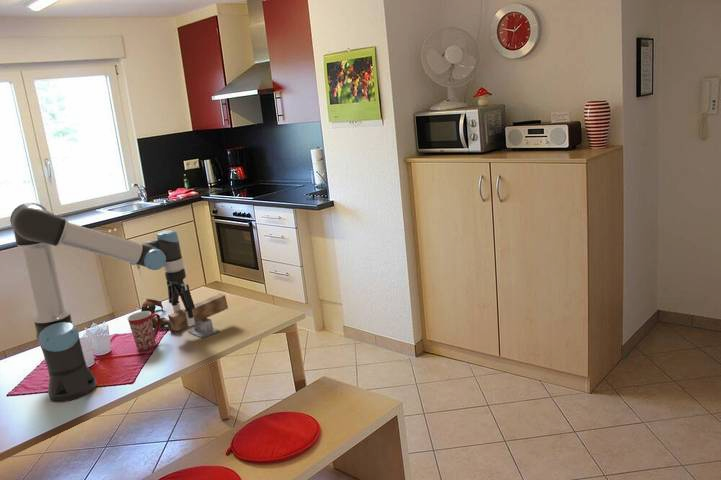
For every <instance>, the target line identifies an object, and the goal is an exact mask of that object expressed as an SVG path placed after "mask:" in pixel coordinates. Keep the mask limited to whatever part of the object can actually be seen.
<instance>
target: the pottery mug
mask: <svg viewBox="0 0 721 480" xmlns="http://www.w3.org/2000/svg"><path fill="white" fill-rule="evenodd" d="M162 302H163V301H160V300H157V299H151V298H146V300H145V301H144V302H143V303H142V304H141V310H140V312H142V311H149V312H151V315H152V314H154V313H155V310H156V308H157V307H160V308H161V311H163V310H164V306H163V304H162Z"/></svg>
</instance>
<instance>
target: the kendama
mask: <svg viewBox="0 0 721 480" xmlns="http://www.w3.org/2000/svg"><path fill="white" fill-rule="evenodd" d="M160 318H161V324H160V328H164V327H167V328H168V330H169V331H170V332H171V333H173V334H174V333H175V334H177V333H178V332H179V331H180V330H178V331H175V330H173V329H172V328H171V324H170V320H169V319H167V318H166V317H164V316H162V317H160ZM157 322H158V319H157V316H154V317H153V320H152V324H153V329H156V327H157Z"/></svg>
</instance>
